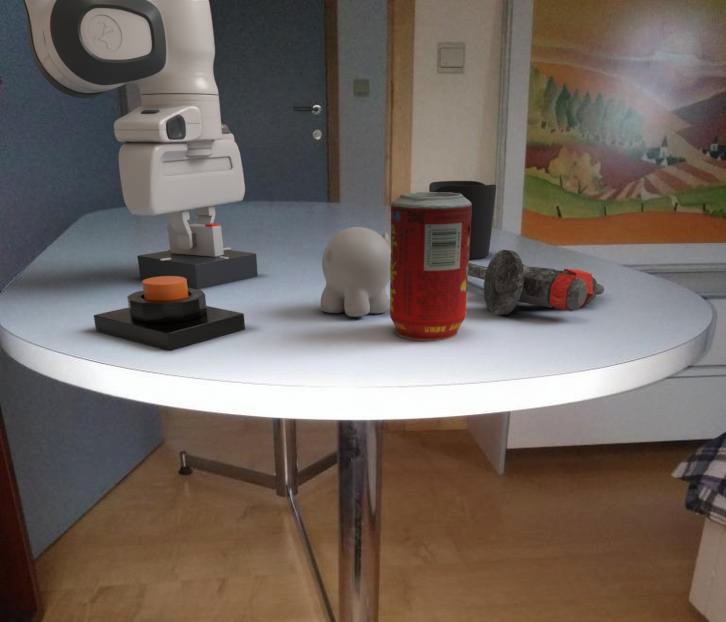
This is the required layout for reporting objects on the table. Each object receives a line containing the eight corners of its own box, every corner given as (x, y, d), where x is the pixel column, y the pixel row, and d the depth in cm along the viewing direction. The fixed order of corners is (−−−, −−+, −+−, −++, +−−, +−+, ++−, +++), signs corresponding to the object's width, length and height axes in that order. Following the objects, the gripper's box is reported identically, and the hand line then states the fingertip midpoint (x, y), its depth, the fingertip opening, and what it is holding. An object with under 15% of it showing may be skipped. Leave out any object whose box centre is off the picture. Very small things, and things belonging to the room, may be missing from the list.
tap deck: (136, 280, 91) (132, 254, 90) (204, 267, 99) (201, 243, 98) (194, 291, 85) (191, 264, 84) (261, 276, 93) (260, 251, 92)
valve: (649, 334, 74) (524, 326, 68) (516, 295, 96) (414, 286, 90) (666, 270, 71) (538, 256, 66) (525, 245, 94) (421, 233, 88)
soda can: (480, 337, 66) (489, 194, 61) (414, 348, 63) (417, 199, 58) (438, 321, 72) (443, 189, 66) (376, 330, 69) (375, 193, 64)
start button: (135, 300, 67) (133, 281, 66) (170, 292, 70) (167, 274, 69) (163, 306, 65) (160, 286, 64) (197, 298, 68) (195, 279, 67)
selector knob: (170, 253, 91) (166, 222, 90) (179, 251, 93) (176, 220, 91) (215, 257, 89) (212, 225, 87) (224, 254, 90) (221, 223, 88)
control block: (96, 332, 69) (89, 295, 67) (171, 314, 75) (167, 280, 73) (170, 352, 63) (165, 312, 61) (245, 331, 69) (242, 294, 67)
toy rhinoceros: (437, 305, 78) (440, 222, 74) (355, 325, 71) (354, 234, 67) (390, 295, 83) (391, 217, 79) (309, 312, 75) (305, 227, 72)
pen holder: (498, 253, 108) (504, 181, 104) (480, 263, 101) (485, 186, 96) (439, 249, 112) (442, 180, 107) (417, 259, 104) (419, 184, 100)
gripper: (210, 123, 94) (220, 234, 100) (102, 124, 77) (122, 257, 83) (252, 123, 92) (259, 237, 98) (150, 123, 75) (166, 261, 81)
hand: (195, 246), depth 90 cm, fingers closed on selector knob, 2 cm apart
